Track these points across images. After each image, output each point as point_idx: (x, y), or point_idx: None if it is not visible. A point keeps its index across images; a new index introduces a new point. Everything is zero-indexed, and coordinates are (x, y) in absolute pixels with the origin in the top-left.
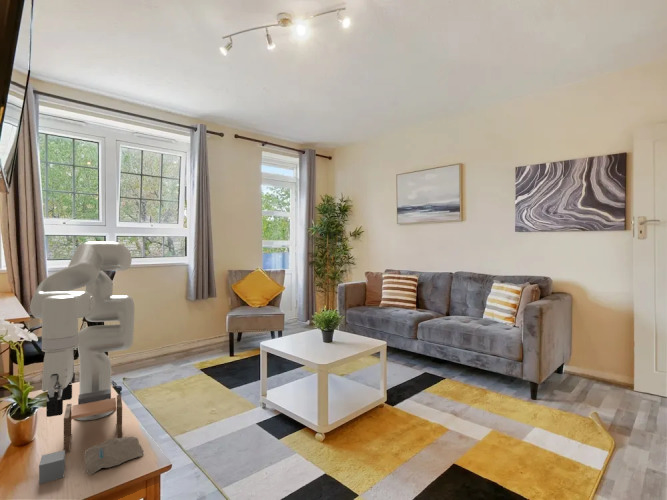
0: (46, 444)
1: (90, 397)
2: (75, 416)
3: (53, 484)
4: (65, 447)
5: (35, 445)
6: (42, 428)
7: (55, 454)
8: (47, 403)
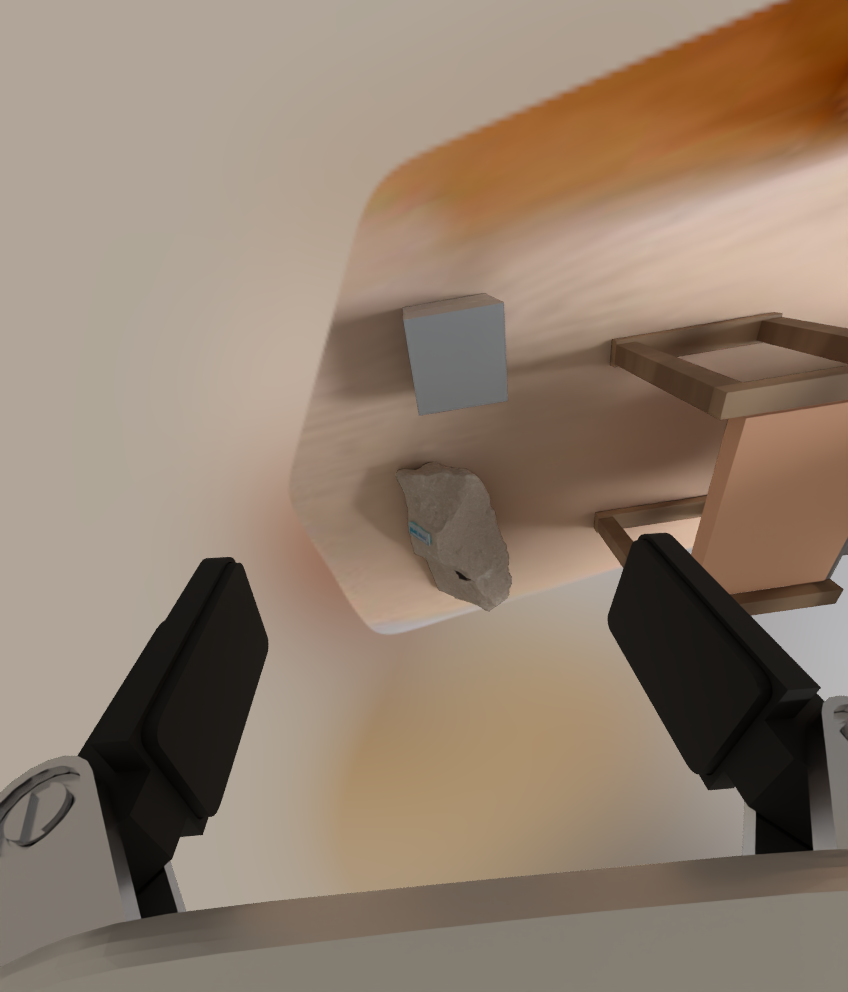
0: (767, 229)
1: None
2: (735, 437)
3: (380, 365)
4: (623, 355)
5: (802, 165)
6: None
7: (482, 368)
8: (120, 708)
